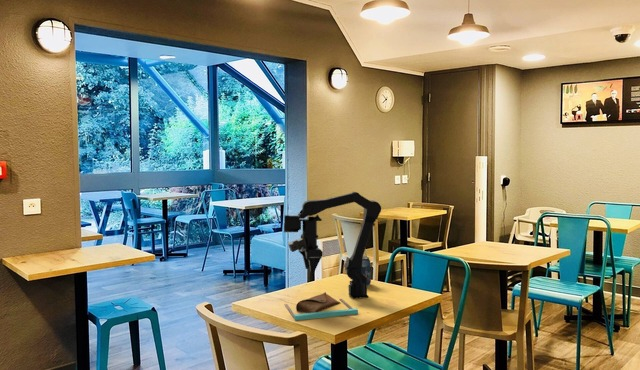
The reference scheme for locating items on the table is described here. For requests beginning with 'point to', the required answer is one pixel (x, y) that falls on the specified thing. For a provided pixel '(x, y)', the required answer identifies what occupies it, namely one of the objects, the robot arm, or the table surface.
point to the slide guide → (324, 313)
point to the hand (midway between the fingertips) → (309, 271)
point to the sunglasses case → (316, 303)
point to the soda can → (366, 269)
